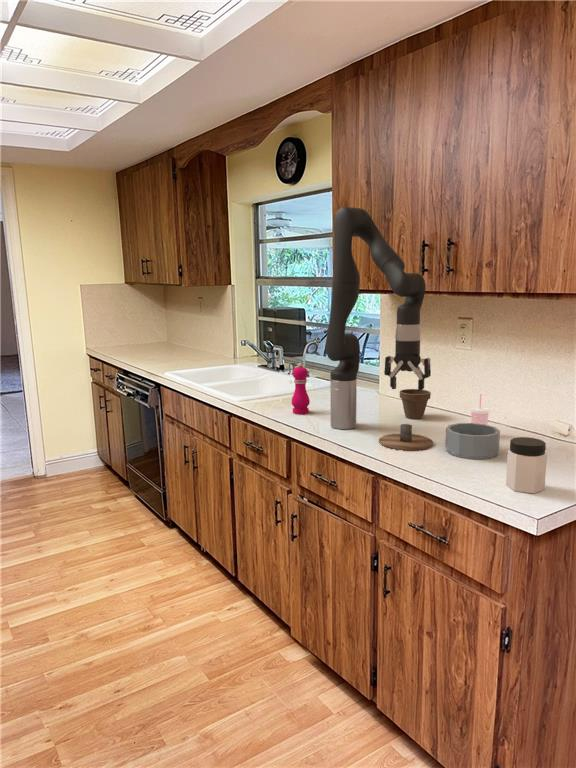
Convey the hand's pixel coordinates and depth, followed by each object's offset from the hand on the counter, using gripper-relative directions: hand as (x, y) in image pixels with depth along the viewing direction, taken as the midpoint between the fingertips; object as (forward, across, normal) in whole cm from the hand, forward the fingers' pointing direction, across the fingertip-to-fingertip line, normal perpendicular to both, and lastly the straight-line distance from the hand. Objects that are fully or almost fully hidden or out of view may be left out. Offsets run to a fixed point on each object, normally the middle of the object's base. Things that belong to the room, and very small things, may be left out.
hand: (406, 389), depth 179 cm
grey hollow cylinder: (+18, -20, 0) cm, 27 cm away
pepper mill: (+17, +51, -22) cm, 58 cm away
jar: (+18, -39, +24) cm, 49 cm away
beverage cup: (+18, -18, -20) cm, 32 cm away
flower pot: (+18, +8, -34) cm, 40 cm away
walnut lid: (+18, 0, 0) cm, 18 cm away
